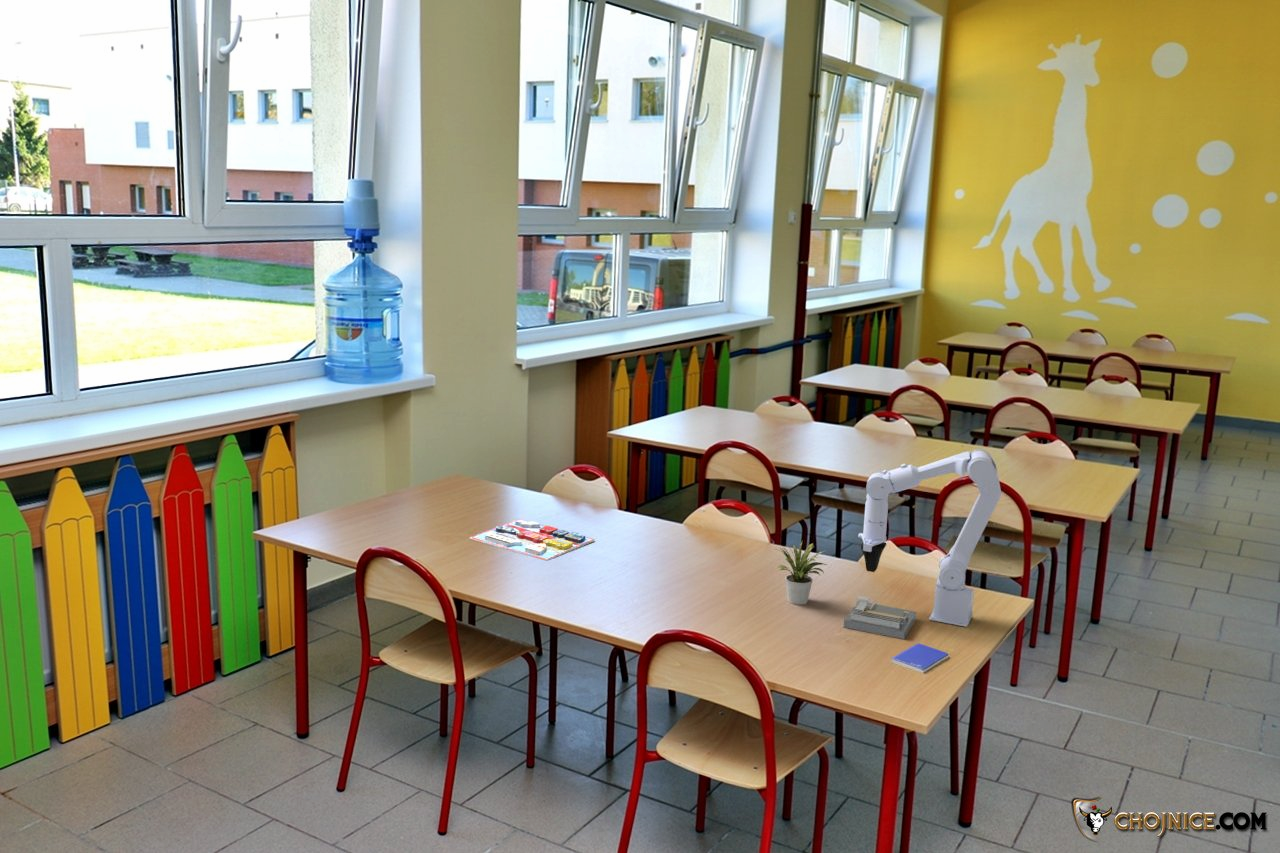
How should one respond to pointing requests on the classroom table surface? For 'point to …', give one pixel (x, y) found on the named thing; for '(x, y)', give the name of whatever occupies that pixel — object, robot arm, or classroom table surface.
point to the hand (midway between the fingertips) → (871, 570)
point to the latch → (863, 603)
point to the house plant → (800, 575)
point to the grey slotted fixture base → (881, 620)
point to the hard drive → (919, 657)
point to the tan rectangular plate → (881, 613)
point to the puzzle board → (532, 539)
